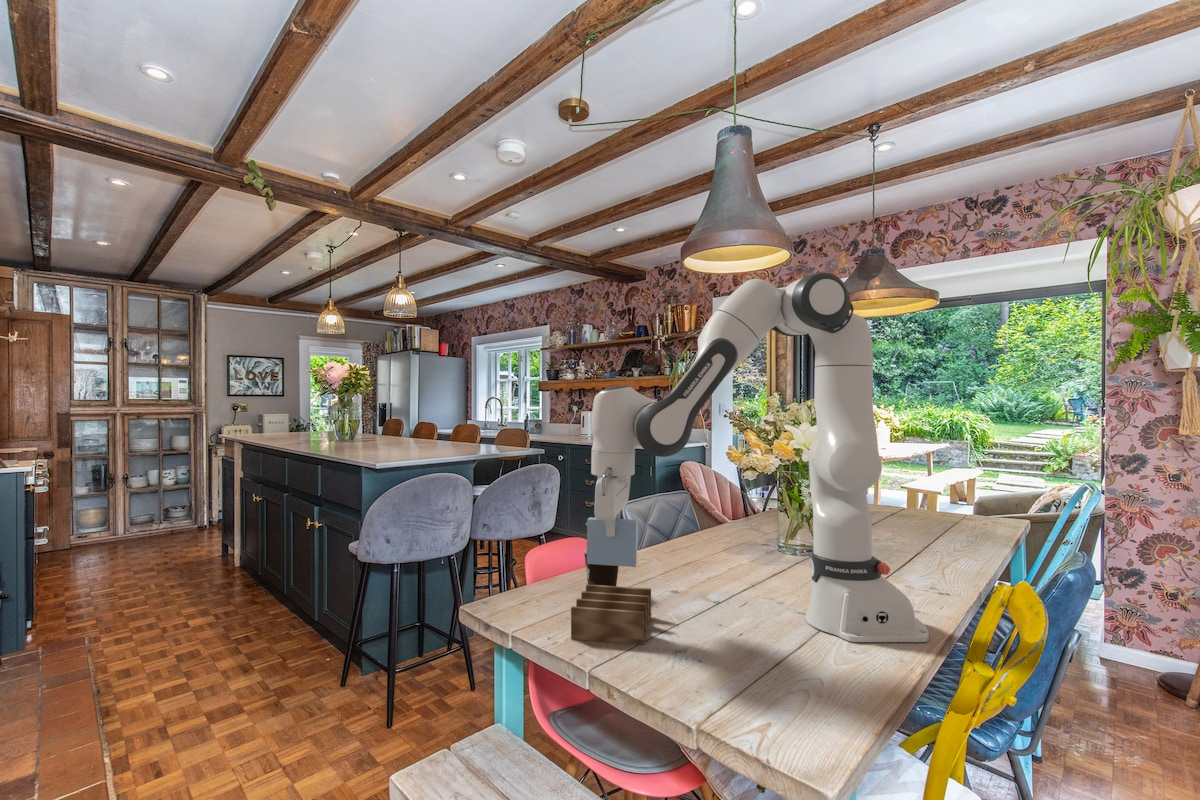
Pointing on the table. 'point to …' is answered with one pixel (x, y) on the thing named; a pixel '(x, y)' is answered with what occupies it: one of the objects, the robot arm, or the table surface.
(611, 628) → the walnut rack
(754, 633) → the table surface
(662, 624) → the table surface
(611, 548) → the upright grey-blue slab
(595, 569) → the coffee mug
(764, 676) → the table surface
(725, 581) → the table surface
